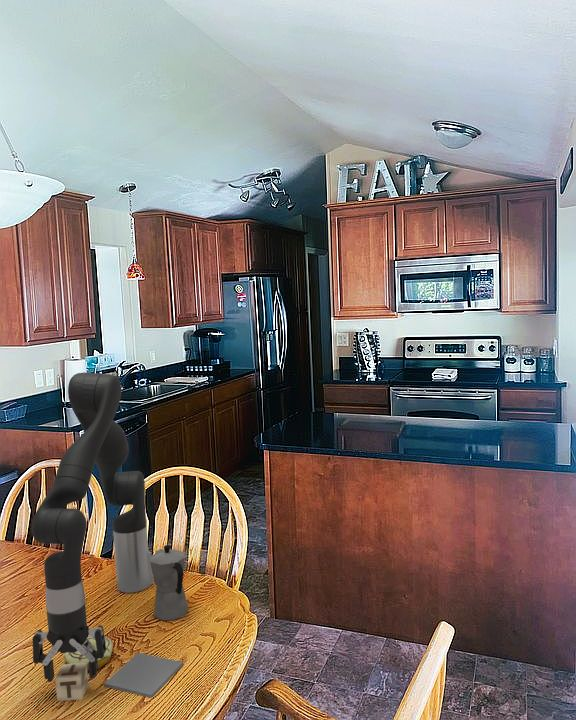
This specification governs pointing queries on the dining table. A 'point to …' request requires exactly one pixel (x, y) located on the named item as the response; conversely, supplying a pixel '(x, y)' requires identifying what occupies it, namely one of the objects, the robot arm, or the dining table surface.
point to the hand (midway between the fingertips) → (72, 678)
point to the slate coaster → (144, 674)
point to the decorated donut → (79, 658)
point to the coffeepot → (169, 584)
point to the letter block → (72, 681)
